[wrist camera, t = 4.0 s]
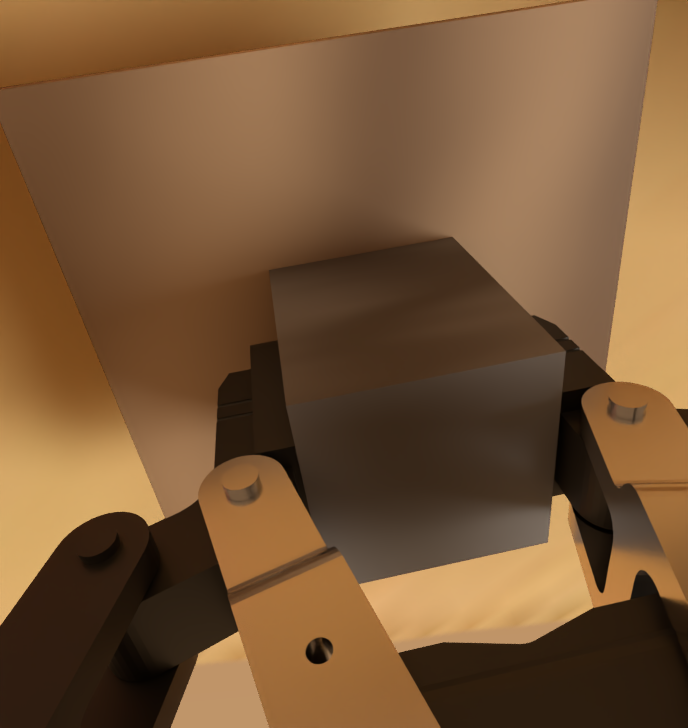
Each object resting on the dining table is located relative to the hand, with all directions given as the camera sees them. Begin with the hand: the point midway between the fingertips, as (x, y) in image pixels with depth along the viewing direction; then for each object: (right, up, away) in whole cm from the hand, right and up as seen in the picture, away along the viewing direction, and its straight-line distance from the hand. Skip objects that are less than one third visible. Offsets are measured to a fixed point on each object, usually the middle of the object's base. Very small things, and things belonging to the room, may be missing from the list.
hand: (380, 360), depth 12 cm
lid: (0, +1, +2) cm, 2 cm away
